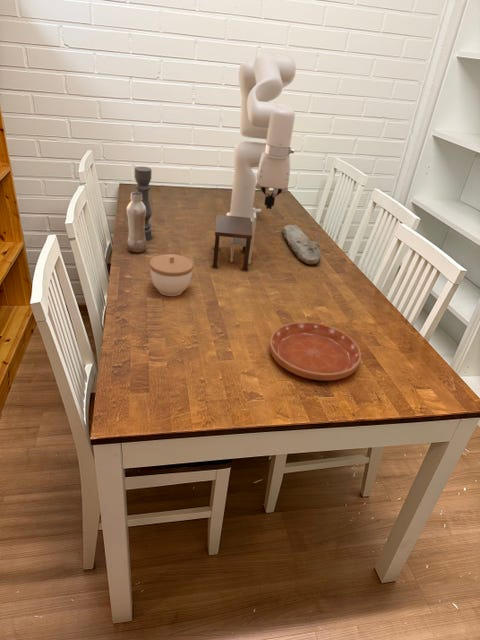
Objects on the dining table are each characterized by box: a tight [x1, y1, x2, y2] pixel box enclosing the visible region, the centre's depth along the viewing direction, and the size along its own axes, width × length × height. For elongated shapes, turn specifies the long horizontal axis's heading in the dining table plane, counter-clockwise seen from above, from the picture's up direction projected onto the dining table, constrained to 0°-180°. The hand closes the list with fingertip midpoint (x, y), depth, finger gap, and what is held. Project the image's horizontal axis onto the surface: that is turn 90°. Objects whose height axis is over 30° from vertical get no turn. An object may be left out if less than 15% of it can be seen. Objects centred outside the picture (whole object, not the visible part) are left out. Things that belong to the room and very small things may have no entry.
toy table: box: [212, 213, 252, 272], centre depth 164 cm, size 12×17×13 cm
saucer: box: [269, 321, 362, 381], centre depth 120 cm, size 23×23×4 cm
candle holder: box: [134, 166, 152, 242], centre depth 168 cm, size 6×6×25 cm
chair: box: [229, 212, 257, 265], centre depth 163 cm, size 7×6×17 cm
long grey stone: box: [282, 224, 322, 265], centre depth 182 cm, size 35×5×10 cm
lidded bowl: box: [149, 253, 194, 297], centre depth 140 cm, size 13×13×11 cm
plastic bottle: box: [126, 191, 147, 253], centre depth 159 cm, size 6×7×20 cm
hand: (268, 207), depth 158 cm, fingers closed
